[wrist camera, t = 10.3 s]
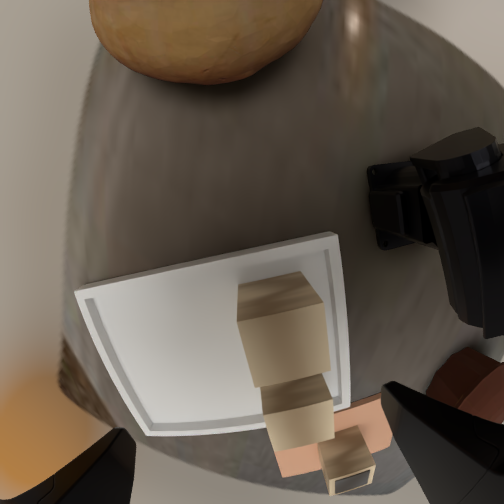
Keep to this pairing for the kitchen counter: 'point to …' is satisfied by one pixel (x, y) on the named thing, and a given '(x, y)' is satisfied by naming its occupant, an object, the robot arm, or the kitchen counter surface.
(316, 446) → the terracotta tile
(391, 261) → the kitchen counter surface
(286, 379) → the plain box
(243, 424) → the white shallow tray
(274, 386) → the plain box
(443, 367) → the muffin
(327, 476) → the labelled box
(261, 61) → the butternut squash
